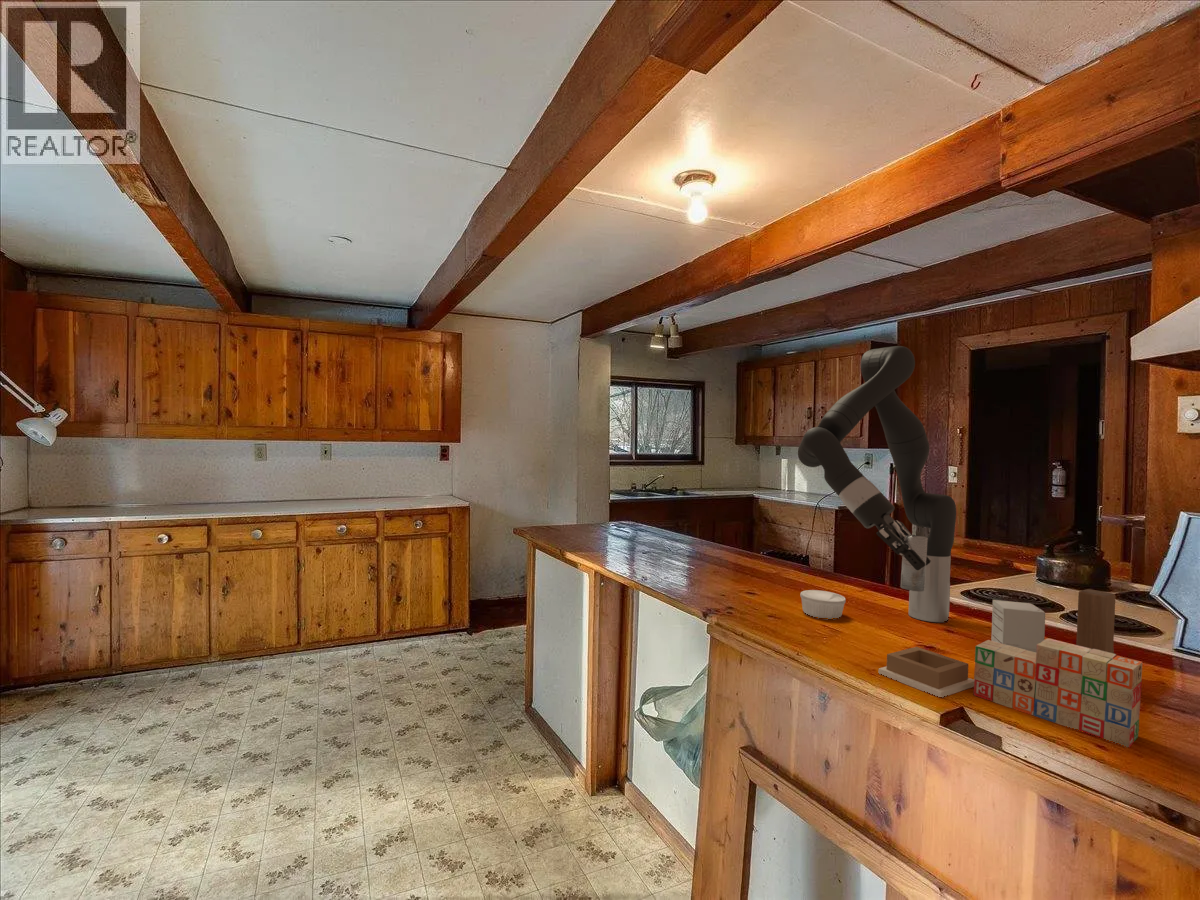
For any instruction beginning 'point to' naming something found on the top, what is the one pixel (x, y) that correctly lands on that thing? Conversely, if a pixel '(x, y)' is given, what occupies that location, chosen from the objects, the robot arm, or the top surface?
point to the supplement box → (1017, 624)
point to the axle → (909, 574)
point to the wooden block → (1096, 620)
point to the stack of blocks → (1064, 686)
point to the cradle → (928, 671)
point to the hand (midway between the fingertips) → (924, 565)
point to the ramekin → (822, 603)
